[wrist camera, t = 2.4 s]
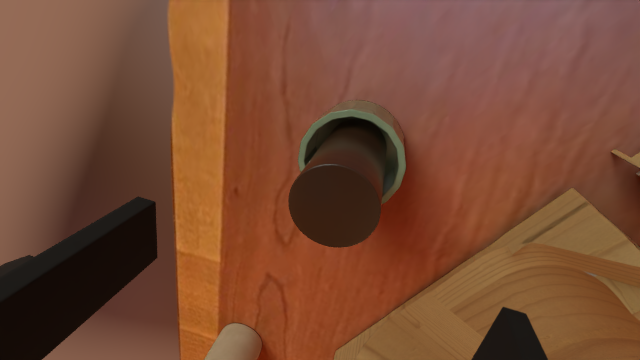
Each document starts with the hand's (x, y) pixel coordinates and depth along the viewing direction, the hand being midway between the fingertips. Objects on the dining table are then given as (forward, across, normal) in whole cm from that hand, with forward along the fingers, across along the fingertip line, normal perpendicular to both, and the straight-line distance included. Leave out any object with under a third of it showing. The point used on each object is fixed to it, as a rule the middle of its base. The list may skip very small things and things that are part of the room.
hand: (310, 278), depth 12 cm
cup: (+17, 0, 0) cm, 17 cm away
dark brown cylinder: (+17, 0, 0) cm, 17 cm away
